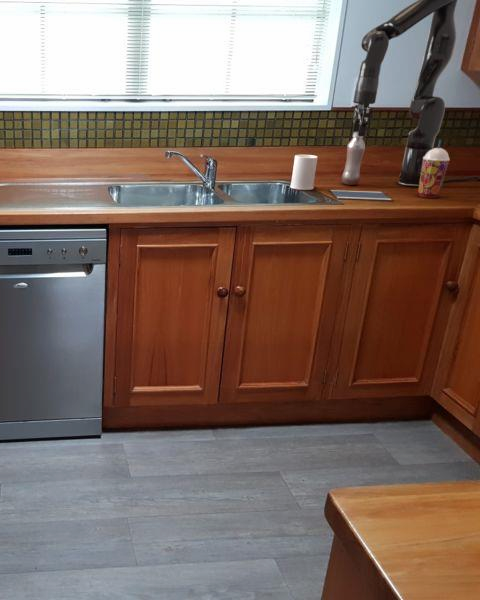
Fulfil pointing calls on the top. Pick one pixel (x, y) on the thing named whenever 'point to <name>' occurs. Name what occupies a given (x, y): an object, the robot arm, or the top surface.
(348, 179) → the plastic bottle
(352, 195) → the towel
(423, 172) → the smoothie
